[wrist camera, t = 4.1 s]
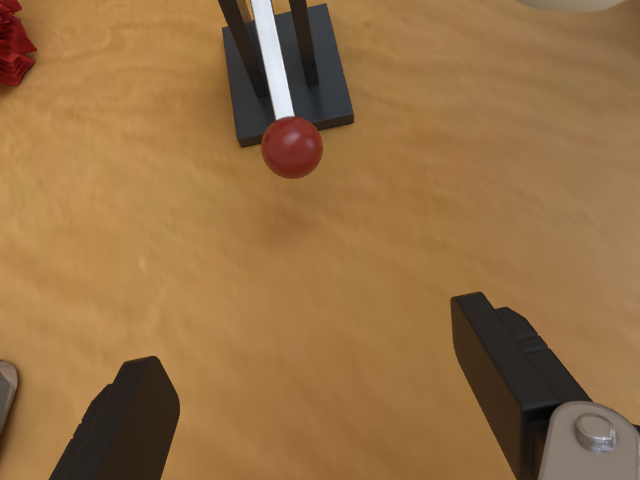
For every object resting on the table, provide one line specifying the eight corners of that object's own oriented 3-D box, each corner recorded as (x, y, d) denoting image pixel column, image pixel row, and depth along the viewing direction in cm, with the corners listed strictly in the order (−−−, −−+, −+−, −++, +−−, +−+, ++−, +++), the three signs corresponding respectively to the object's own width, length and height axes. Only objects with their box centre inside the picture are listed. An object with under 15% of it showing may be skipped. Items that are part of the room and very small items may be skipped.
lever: (328, 175, 24) (328, 167, 21) (273, 187, 24) (263, 181, 21) (275, -81, 24) (265, -132, 20) (219, -67, 24) (199, -115, 20)
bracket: (354, 122, 32) (346, -50, 18) (241, 147, 32) (156, -4, 19) (327, 14, 35) (305, -196, 22) (226, 38, 35) (144, -155, 22)
